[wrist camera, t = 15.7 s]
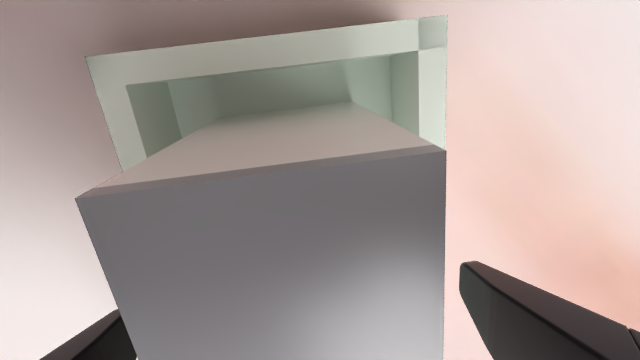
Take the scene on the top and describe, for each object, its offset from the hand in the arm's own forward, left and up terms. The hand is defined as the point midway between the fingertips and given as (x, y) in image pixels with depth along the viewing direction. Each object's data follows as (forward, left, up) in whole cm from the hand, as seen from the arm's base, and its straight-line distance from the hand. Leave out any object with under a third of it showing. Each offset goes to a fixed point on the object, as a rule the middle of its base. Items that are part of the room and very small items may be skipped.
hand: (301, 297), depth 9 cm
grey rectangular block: (0, 0, -5) cm, 5 cm away
